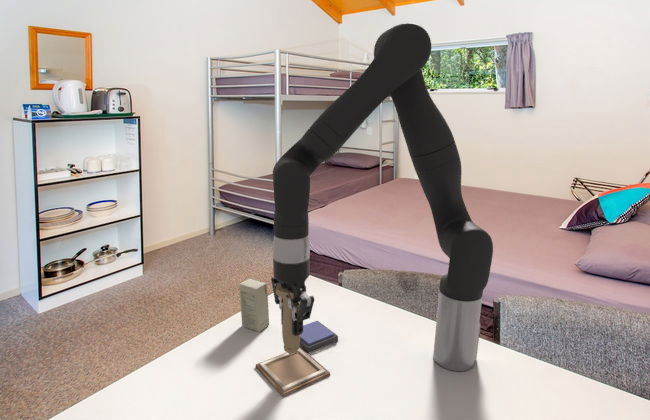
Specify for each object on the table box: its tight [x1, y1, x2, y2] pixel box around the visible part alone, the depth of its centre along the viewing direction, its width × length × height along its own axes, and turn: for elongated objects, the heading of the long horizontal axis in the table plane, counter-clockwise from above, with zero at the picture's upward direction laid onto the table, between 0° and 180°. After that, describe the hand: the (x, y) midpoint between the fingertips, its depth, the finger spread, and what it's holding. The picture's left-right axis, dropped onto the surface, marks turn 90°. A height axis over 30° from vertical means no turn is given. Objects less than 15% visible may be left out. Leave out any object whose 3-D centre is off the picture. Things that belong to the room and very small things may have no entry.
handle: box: [276, 284, 307, 354], centre depth 91 cm, size 5×6×15 cm
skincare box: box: [238, 278, 270, 333], centre depth 112 cm, size 6×4×12 cm
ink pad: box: [299, 320, 339, 354], centre depth 107 cm, size 9×9×2 cm
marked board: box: [255, 346, 331, 397], centre depth 95 cm, size 12×12×1 cm
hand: (291, 328), depth 92 cm, fingers closed on handle, 4 cm apart
